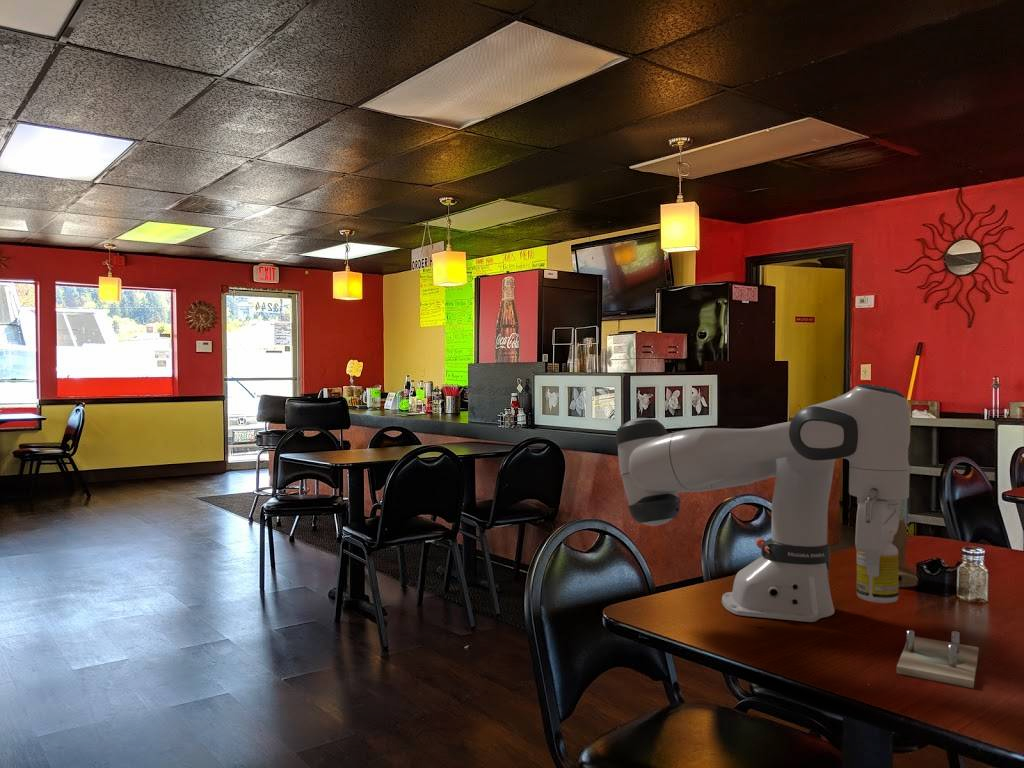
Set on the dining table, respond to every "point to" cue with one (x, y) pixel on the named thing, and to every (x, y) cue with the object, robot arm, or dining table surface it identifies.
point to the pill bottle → (886, 582)
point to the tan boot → (903, 558)
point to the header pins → (952, 648)
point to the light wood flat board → (939, 662)
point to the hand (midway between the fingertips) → (877, 570)
